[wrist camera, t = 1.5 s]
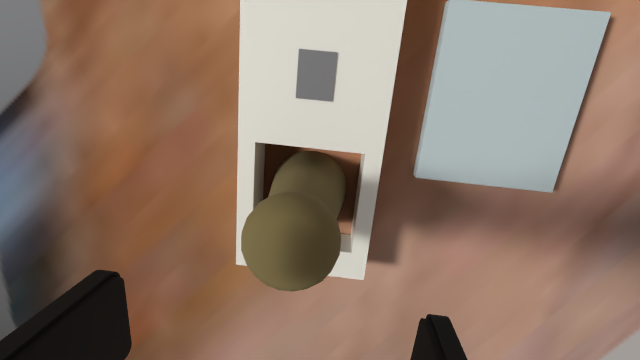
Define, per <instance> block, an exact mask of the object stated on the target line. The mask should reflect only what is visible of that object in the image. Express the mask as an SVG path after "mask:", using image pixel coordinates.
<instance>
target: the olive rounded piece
mask: <svg viewBox="0 0 640 360" xmlns="http://www.w3.org/2000/svg"><path fill="white" fill-rule="evenodd" d="M346 189H347V183H346V179H345V174H344V172H343V171H342V169H341V168H340V166H339V164H338V163H337V162H335V161H334V160H333V159H332V158H331V157H330V156H327V155H325V154H323V153H320V152H317V151H302V152H298V153H294V154H293V155H291V156H289V157H288V158H286V159H285V160H284V161H283V162H282V163H281V164H280V166H279V167H278V168H277V171H276V174H275V176H274V179H273V182H272V186H271V189H270V193H269V196H268V198H266V199H264V200H263V201H261V202H259V204H258V205H257V206H256V207H255V208H254V210H253V211H252V212H251V213H250V214H249V216H248V217H247V219H246V221H245V224H244V227H243V230H242V234H241V251H242V254H243V257H244V260H245V262H246V264H247V266H248V267H249V269H250V270H251V271H252V273H253V274H254V275H255V277H256V278H258V279H259V280H260V281H262V282H263V283H264V284H266V285H267V286H270V287H273V288H275V289H278V290H283V291H298V290H304V289H307V288H310V287H312V286H314V285H316V284H318V283H320V282H321V281H322V280H323V279H324V278H326V277H327V276H328V275H329V274H330V273H331V271H332V269H333V267H334V265H335V263H336V261H337V259H338V257H339V255H340V247H341V233H340V229H339V225H338V222H337V217H338V215H339V212H340V210H341V207H342V205H343V202H344V199H345V197H346Z"/></svg>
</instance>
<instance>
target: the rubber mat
mask: <svg viewBox="0 0 640 360" xmlns="http://www.w3.org/2000/svg"><path fill="white" fill-rule="evenodd" d="M610 15H611V12H601V11H589V10H577V9H565V8H553V7H541V6H529V5H517V4H505V3H493V2H482V1H470V0H448V1H447V2H446V3H445V7H444V12H443V17H442V23H441V28H440V33H439V39H438V44H437V49H436V55H435V60H434V65H433V71H432V76H431V81H430V87H429V92H428V97H427V103H426V108H425V113H424V119H423V124H422V129H421V135H420V140H419V145H418V151H417V156H416V161H415V167H414V172H413V175H414V176H415V177H416V178H422V179H431V180H441V181H450V182H459V183H468V184H478V185H487V186H496V187H505V188H514V189H524V190H533V191H542V192H551V193H552V191H553V188H554V185H555V182H556V179H557V176H558V173H559V170H560V167H561V164H562V161H563V158H564V155H565V152H566V149H567V146H568V143H569V140H570V136H571V133H572V130H573V127H574V124H575V121H576V118H577V115H578V112H579V109H580V106H581V103H582V100H583V97H584V94H585V91H586V88H587V85H588V82H589V79H590V76H591V73H592V70H593V67H594V64H595V60H596V57H597V54H598V51H599V48H600V45H601V42H602V39H603V36H604V33H605V30H606V27H607V24H608V21H609V18H610Z"/></svg>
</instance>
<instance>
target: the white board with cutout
mask: <svg viewBox="0 0 640 360" xmlns="http://www.w3.org/2000/svg"><path fill="white" fill-rule="evenodd" d="M406 5H407V0H240V55H239V115H238V175H237V236H236V264H237V265H245V266H247V264H246V262H245V260H244V257H243V254H242V251H241V234H242V230H243V227H244V224H245V221H246V219H247V217H248V216H249V214H250V213H251V212H252V211H253V210H254V208H255V207H256V206H257V205H258V204H259V202H261V201H263V186H264V163H265V143H268V144H277V145H287V146H296V147H305V148H315V149H324V150H334V151H343V152H353V153H362V154H361V162H360V169H359V176H358V184H357V191H356V199H355V206H354V213H353V221H352V228H351V235H348V234H341V247H340V255H339V257H338V259H337V261H336V263H335V265H334V267H333V269H332V271H331V273H330V274H329V275H328V276H335V277H343V278H351V279H359V280H364V275H365V268H366V262H367V255H368V249H369V242H370V236H371V230H372V223H373V217H374V210H375V204H376V197H377V191H378V185H379V178H380V172H381V165H382V159H383V152H384V146H385V140H386V133H387V127H388V120H389V114H390V107H391V101H392V95H393V88H394V82H395V75H396V69H397V62H398V56H399V50H400V43H401V37H402V30H403V24H404V17H405V11H406Z"/></svg>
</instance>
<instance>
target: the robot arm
mask: <svg viewBox="0 0 640 360" xmlns="http://www.w3.org/2000/svg"><path fill="white" fill-rule="evenodd" d="M130 349H131V335H130V327H129V318H128V310H127V302H126V294H125V286H124V280H123V278H120V275H119V273H117V272H112V271H105V270H96V271H94V272H93V273H91V274H90V275H89V276H87V277H86V278H85V279H83V280H82V281H80V282H79V283H78V284H76V285H75V286H74V287H72V288H71V289H70V290H68V291H67V292H66V293H64V294H63V295H62V296H60V297H59V298H58V299H56V300H55V301H53V302H52V303H51V304H49V305H48V306H47V307H45V308H44V309H43V310H41V311H40V312H39V313H37V314H36V315H35V316H33V317H32V318H31V319H29V320H28V321H26V322H25V323H24V324H22V325H21V326H20V327H18V328H17V329H16V330H14V331H13V332H12V333H10V334H9V335H8V336H6V337H5V338H4V339H2V340H1V341H0V360H124V359H125V358H126V357H127V355H128V354H129V352H130ZM411 360H467V358H466V355H465V353H464V351H463V348H462V346H461V344H460V341H459V339H458V337H457V335H456V332H455V330H454V328H453V325H452V323H451V321H450V319H449V318H448V317H447V316H439V315H432V314H428V315H427V316H426V319H423V318H421V319H420V322H419V326H418V330H417V335H416V339H415V343H414V347H413V351H412V356H411Z"/></svg>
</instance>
